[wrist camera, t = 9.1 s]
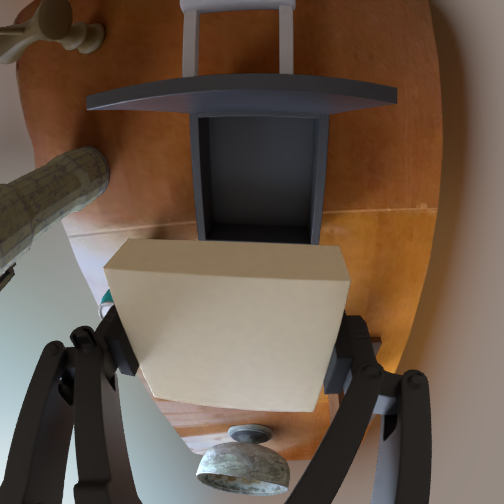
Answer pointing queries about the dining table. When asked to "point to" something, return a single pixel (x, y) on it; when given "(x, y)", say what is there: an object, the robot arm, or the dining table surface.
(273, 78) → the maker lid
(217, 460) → the decorative bowl
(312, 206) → the open box
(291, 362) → the beige flat square block
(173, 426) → the dining table surface
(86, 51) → the kendama
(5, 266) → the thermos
